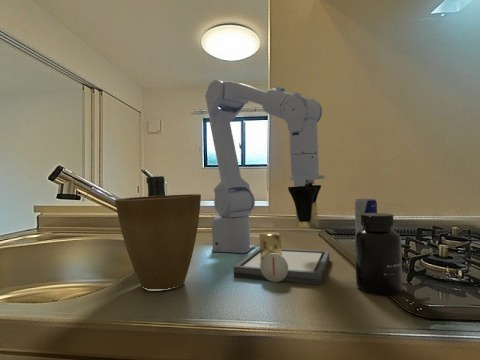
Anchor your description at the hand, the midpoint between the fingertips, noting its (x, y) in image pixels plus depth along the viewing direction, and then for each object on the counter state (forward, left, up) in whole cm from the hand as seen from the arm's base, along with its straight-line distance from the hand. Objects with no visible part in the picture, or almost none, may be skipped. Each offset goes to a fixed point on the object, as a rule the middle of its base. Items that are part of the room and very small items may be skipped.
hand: (306, 219), depth 63 cm
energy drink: (+12, +22, -10) cm, 26 cm away
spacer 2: (0, 0, -1) cm, 1 cm away
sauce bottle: (-33, -5, -10) cm, 35 cm away
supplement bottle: (+13, -10, -10) cm, 19 cm away
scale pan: (-4, -3, -8) cm, 10 cm away
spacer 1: (-7, -3, -8) cm, 11 cm away
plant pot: (-23, -18, -10) cm, 31 cm away
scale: (-4, -3, -9) cm, 11 cm away
